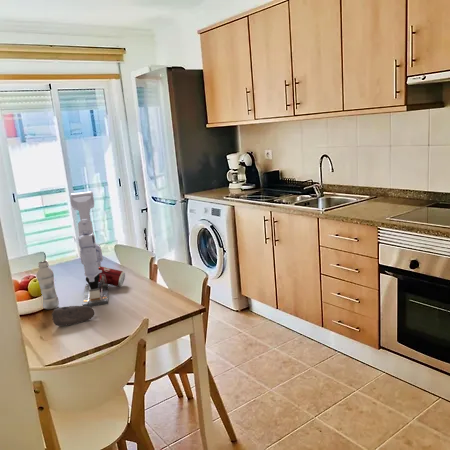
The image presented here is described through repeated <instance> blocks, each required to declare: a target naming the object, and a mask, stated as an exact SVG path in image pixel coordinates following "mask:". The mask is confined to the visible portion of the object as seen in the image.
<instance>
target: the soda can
mask: <svg viewBox="0 0 450 450" xmlns="http://www.w3.org/2000/svg"><path fill="white" fill-rule="evenodd" d="M98 268H99V270H102V273H99V275H100V278H99V281H98V282H99V283H98V284H101V283H104V284H108V286H114V287H119V288H120V287H122V286H123V285H124V283H125V280H126V272H125V271H123V270H120V269H116V268H115V269H114V268H110V267H106V266H102V265H101V266H100V267H98Z"/></svg>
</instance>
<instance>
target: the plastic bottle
mask: <svg viewBox="0 0 450 450" xmlns="http://www.w3.org/2000/svg"><path fill="white" fill-rule="evenodd" d="M37 265H38V266H37V267H38V268H39V269H38V270H37V272H36V279H37V281H38V284H39V288H40V293H41V294H42V295H41V297H42V296H43V306H42V308H44V309H45V310H52V309H53V310H54V309H56V308H58V307H59V304H60V300H59V297H58V295H57V292H56V287H55V278H54V276H55V275H54V270H52V269H51V268H50V267H49V262H48V260H42V261H39V262H37Z"/></svg>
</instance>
